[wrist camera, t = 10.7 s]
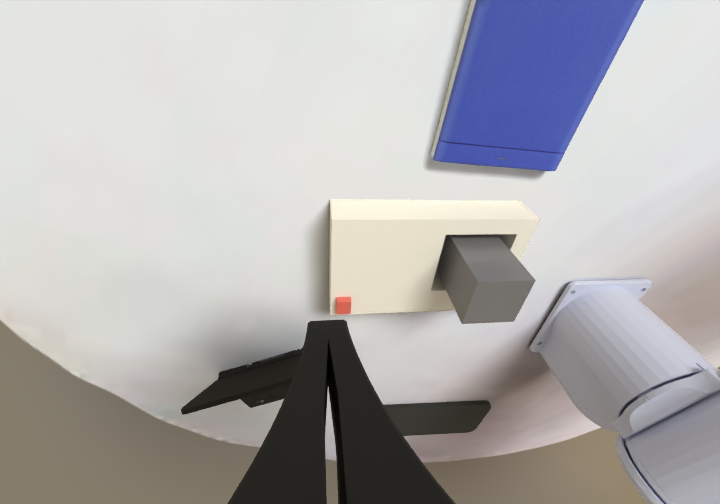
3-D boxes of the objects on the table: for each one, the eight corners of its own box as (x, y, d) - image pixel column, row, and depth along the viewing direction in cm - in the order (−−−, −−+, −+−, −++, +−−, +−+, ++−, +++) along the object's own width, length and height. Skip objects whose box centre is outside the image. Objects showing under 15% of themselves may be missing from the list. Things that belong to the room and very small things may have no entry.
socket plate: (484, 286, 26) (501, 313, 24) (329, 291, 25) (330, 320, 22) (519, 200, 22) (544, 223, 19) (330, 199, 20) (332, 224, 18)
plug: (474, 261, 24) (513, 321, 20) (432, 262, 24) (461, 323, 19) (488, 224, 22) (535, 280, 18) (442, 224, 22) (478, 282, 17)
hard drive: (529, -180, 11) (435, 162, 18) (714, -125, 12) (558, 172, 20) (507, -161, 12) (427, 152, 20) (678, -113, 14) (544, 163, 21)
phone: (374, 408, 36) (494, 403, 39) (373, 401, 37) (491, 397, 39) (365, 438, 40) (473, 432, 43) (364, 431, 41) (471, 426, 43)
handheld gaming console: (263, 423, 33) (210, 497, 23) (230, 362, 33) (164, 409, 23) (358, 371, 32) (347, 424, 22) (324, 309, 32) (297, 334, 23)
